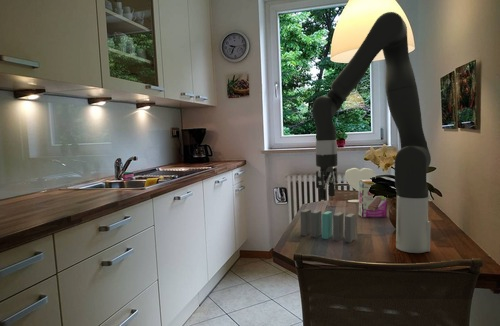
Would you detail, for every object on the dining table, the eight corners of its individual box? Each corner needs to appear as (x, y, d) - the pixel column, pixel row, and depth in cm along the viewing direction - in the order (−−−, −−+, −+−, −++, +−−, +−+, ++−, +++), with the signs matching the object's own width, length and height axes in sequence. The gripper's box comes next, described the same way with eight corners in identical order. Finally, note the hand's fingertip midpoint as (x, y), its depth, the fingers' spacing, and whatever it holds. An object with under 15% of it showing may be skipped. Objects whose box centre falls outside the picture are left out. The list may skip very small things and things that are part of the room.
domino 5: (344, 241, 126) (344, 216, 125) (349, 238, 130) (349, 213, 129) (350, 242, 124) (350, 216, 124) (355, 239, 129) (355, 214, 128)
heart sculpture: (374, 200, 198) (374, 167, 196) (375, 202, 193) (375, 168, 191) (345, 200, 201) (345, 167, 199) (345, 201, 196) (345, 168, 194)
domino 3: (322, 238, 130) (322, 213, 129) (327, 234, 134) (327, 211, 134) (327, 239, 129) (327, 214, 128) (332, 235, 133) (332, 211, 133)
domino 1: (300, 235, 135) (300, 211, 134) (306, 232, 139) (306, 208, 138) (305, 235, 134) (305, 212, 133) (311, 232, 138) (311, 209, 137)
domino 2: (311, 236, 132) (311, 212, 132) (316, 233, 137) (316, 210, 136) (316, 237, 131) (316, 213, 131) (321, 234, 136) (321, 210, 135)
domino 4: (333, 240, 128) (333, 215, 127) (338, 236, 132) (338, 212, 131) (338, 240, 127) (338, 215, 126) (343, 237, 131) (343, 212, 130)
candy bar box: (362, 218, 158) (362, 181, 157) (358, 215, 163) (358, 179, 162) (387, 217, 159) (387, 180, 157) (382, 214, 164) (383, 179, 162)
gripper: (324, 152, 137) (324, 194, 138) (308, 154, 125) (309, 200, 126) (343, 151, 133) (344, 195, 134) (329, 154, 121) (330, 202, 122)
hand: (327, 197), depth 130 cm, fingers open, 8 cm apart
